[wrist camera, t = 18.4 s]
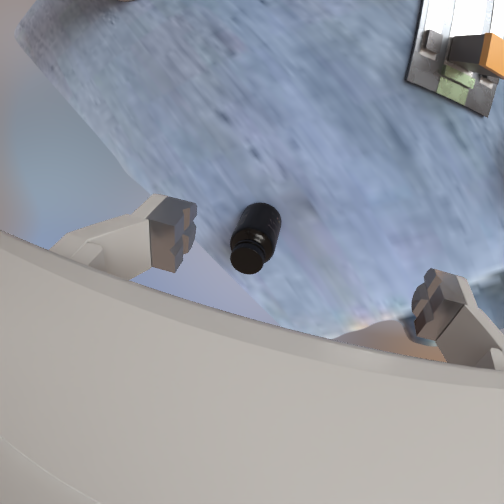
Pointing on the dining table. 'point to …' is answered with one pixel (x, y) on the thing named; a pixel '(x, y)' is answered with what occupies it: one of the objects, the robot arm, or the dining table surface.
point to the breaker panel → (439, 46)
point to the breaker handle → (479, 54)
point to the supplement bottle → (255, 238)
